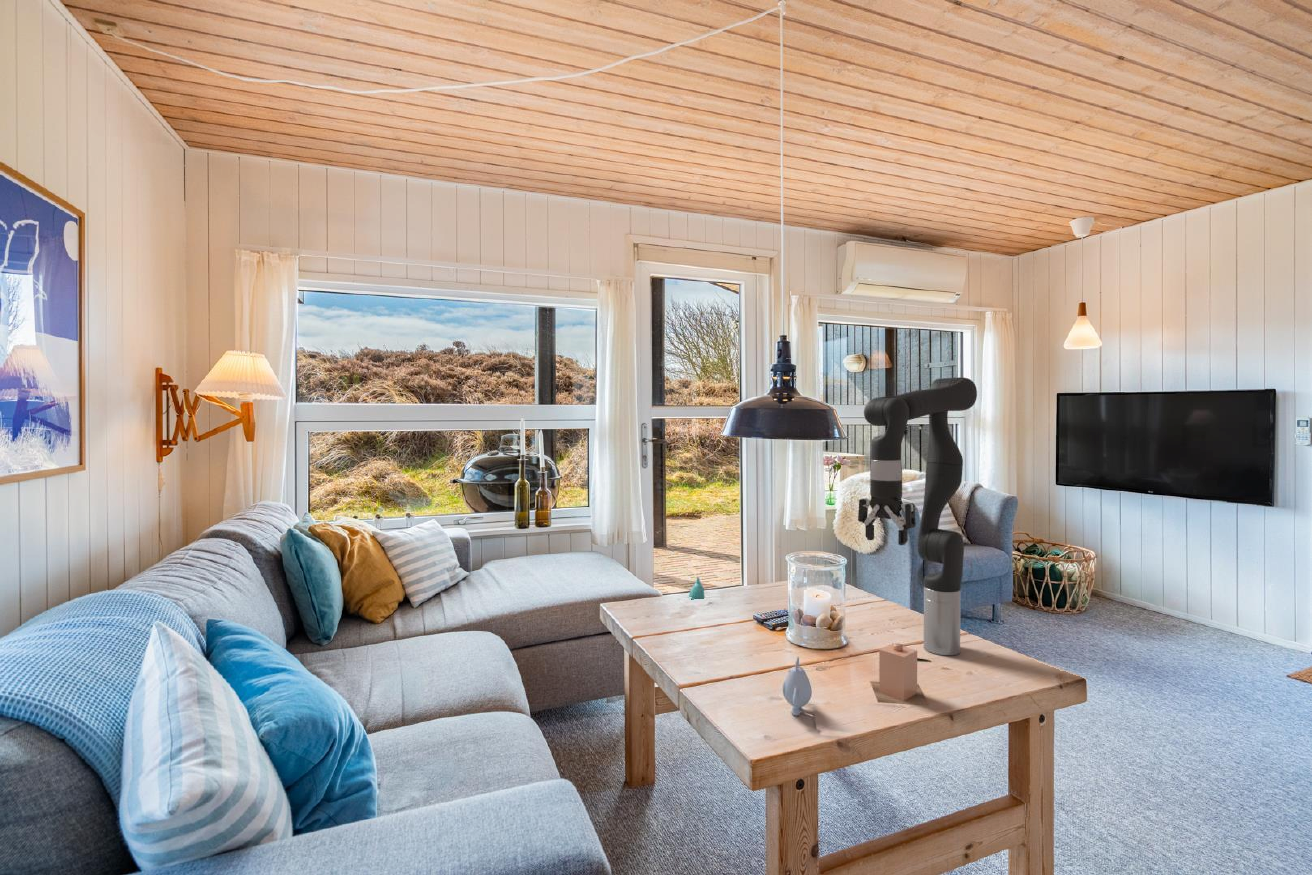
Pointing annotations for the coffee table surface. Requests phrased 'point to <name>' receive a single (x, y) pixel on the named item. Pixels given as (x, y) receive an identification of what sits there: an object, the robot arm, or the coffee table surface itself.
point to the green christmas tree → (697, 591)
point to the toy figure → (797, 688)
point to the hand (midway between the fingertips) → (885, 542)
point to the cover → (898, 671)
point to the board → (915, 699)
